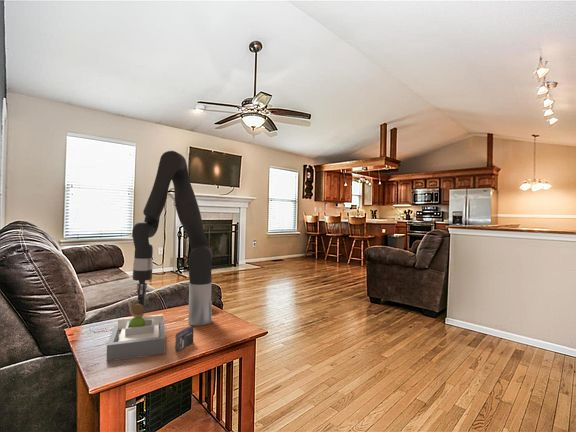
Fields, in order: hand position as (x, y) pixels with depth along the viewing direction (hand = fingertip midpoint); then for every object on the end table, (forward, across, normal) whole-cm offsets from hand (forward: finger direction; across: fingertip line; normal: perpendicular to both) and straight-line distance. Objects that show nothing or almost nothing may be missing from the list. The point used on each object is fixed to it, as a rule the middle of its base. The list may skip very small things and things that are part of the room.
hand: (140, 308), depth 132 cm
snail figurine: (+4, -14, +1) cm, 15 cm away
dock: (+6, -25, 0) cm, 26 cm away
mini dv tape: (+6, -32, -15) cm, 36 cm away
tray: (+5, -15, 0) cm, 16 cm away
